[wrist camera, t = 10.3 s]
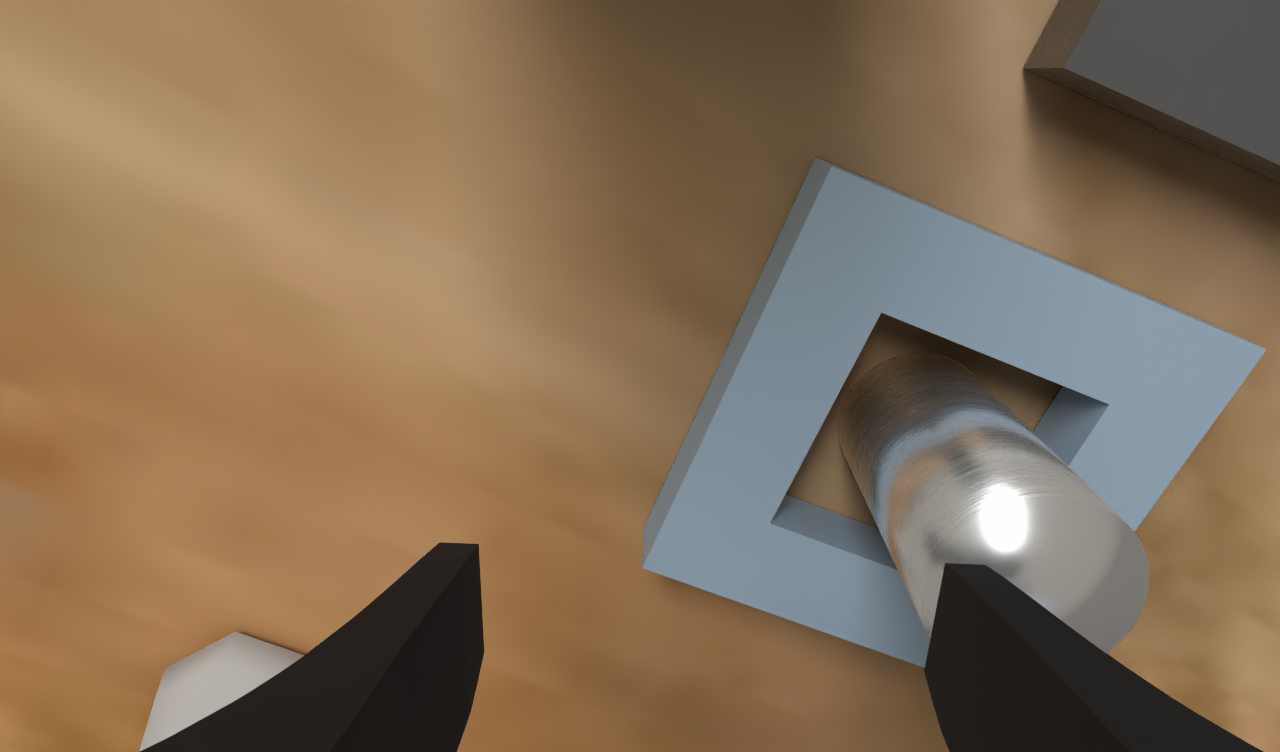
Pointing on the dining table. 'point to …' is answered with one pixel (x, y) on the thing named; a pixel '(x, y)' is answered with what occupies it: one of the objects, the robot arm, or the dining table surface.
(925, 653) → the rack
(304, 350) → the dining table surface
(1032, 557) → the steel peg
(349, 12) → the dining table surface
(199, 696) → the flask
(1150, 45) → the socket block
